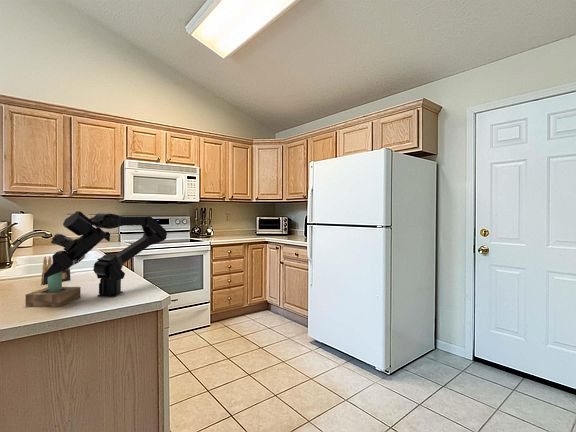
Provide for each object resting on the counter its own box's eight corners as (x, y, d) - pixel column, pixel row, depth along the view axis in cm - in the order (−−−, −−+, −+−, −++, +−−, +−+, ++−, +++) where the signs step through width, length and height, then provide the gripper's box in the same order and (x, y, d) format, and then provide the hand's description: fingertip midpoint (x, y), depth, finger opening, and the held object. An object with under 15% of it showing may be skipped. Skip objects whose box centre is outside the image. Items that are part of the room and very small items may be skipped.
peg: (64, 300, 111) (64, 265, 111) (56, 303, 107) (57, 267, 107) (52, 300, 111) (53, 265, 111) (44, 303, 107) (45, 267, 107)
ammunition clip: (43, 284, 134) (43, 256, 133) (41, 284, 134) (41, 256, 134) (70, 280, 143) (70, 254, 143) (68, 279, 144) (68, 253, 144)
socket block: (80, 297, 115) (80, 286, 115) (59, 306, 104) (59, 294, 104) (49, 297, 115) (49, 286, 115) (25, 306, 104) (25, 294, 104)
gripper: (75, 224, 119) (39, 254, 115) (60, 227, 102) (17, 262, 98) (99, 245, 122) (64, 275, 118) (88, 250, 105) (47, 285, 101)
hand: (49, 274), depth 109 cm, fingers open, 9 cm apart
